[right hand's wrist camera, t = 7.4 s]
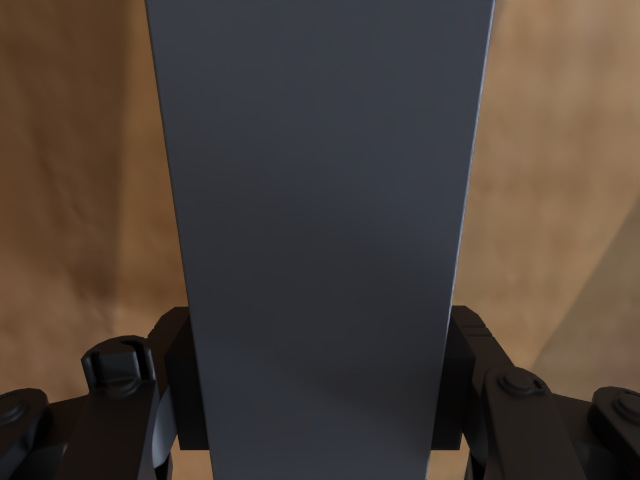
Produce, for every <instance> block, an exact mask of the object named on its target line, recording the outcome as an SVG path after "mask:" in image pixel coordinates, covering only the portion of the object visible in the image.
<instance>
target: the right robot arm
mask: <svg viewBox="0 0 640 480" xmlns="http://www.w3.org/2000/svg"><path fill="white" fill-rule="evenodd" d="M81 363H82V366H83V370H84V373H85V377H86V381H87V384H88V388H89V394H88V395H85V396H81V397H78V398H73V399H69V400H64V401H60V402H55V403H51V404H49V402H48V399H47V396H46V394H45V393H44V392H43V391H41V390H40V389H33V388H26V389H19V390H14V391H11V392H8V393H5V394H2V395H0V480H171V479H172V469H173V463H172V457H171V452H170V450H171V447H172V445H173V442H174V440H175V438H176V435H177V434H178V440H179V445H180V450H209V444H208V437H207V430H206V424H205V417H204V410H203V403H202V396H201V389H200V382H199V375H198V368H197V361H196V354H195V347H194V340H193V333H192V326H191V320H190V313H189V307H174V308H173V309H171V310H170V311H168V312H167V313H165V314H164V315H163V316H161V318H160V319H159V321H158V322H157V324H156V325H155V326H154V329H152V331H151V332H150V333H149V335H148V338H146V339H145V338H144V337H139V336H135V335H130V336H120V337H115V338H111V339H108V340H106V341H104V342H101V343H99V344H97V345H96V346H94V347H93V348H91V349H90V350H88V351H87V352H86V353H85V355H84V356H83V357H82V358H81ZM462 433H463V434H464V436H465V439H466V441H467V444H468V446H469V448H470V452H469V457H468V462H467V467H466V472H465V477H464V480H640V393H637V392H635V391H631V390H628V389H625V388H619V387H612V386H609V387H602V388H599V389H598V390H597V391H596V392H594V395H593V398H592V401H591V402H587V401H583V400H578V399H574V398H569V397H565V396H561V395H557V394H554V393H551V391H550V389H549V388H548V386H547V385H546V383H545V382H544V381H543V380H541V379H540V378H539V377H538V376H536V375H535V374H533V373H531V372H529V371H527V370H525V369H523V368H519V367H515V366H514V364H513V363H512V362H511V360H510V359H509V357H508V356H507V355H506V353H505V352H504V350H503V349H502V348H501V346H500V345H499V343H498V342H497V341H496V339H495V338H494V337H492V334H491V332H490V331H489V329H488V328H486V325H485V324H484V322H483V321H482V320H481V318H480V317H479V315H478V314H476V313H475V312H473V311H472V310H470V309H469V308H467V307H466V306H451V312H450V319H449V326H448V333H447V340H446V347H445V354H444V361H443V368H442V375H441V382H440V389H439V396H438V403H437V410H436V416H435V423H434V430H433V437H432V444H431V450H459V449H460V444H461V438H462Z"/></svg>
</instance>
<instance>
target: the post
mask: <svg viewBox="0 0 640 480" xmlns="http://www.w3.org/2000/svg"><path fill="white" fill-rule="evenodd" d="M144 1H145V7H146V14H147V21H148V28H149V35H150V42H151V49H152V56H153V63H154V70H155V77H156V84H157V91H158V98H159V105H160V112H161V118H162V125H163V132H164V139H165V146H166V153H167V160H168V167H169V174H170V181H171V188H172V195H173V202H174V209H175V216H176V222H177V229H178V236H179V243H180V250H181V257H182V264H183V271H184V278H185V285H186V292H187V299H188V306H189V313H190V320H191V326H192V333H193V340H194V347H195V354H196V361H197V368H198V375H199V382H200V389H201V396H202V403H203V410H204V417H205V424H206V430H207V437H208V444H209V451H210V458H211V465H212V472H213V479H214V480H426V479H427V472H428V465H429V458H430V451H431V444H432V437H433V430H434V423H435V416H436V410H437V403H438V396H439V389H440V382H441V375H442V368H443V361H444V354H445V347H446V340H447V333H448V326H449V319H450V312H451V305H452V298H453V291H454V284H455V277H456V270H457V263H458V256H459V249H460V242H461V235H462V228H463V221H464V214H465V207H466V200H467V193H468V186H469V179H470V172H471V165H472V158H473V151H474V144H475V137H476V130H477V124H478V117H479V110H480V103H481V96H482V89H483V82H484V75H485V68H486V61H487V54H488V47H489V40H490V33H491V26H492V19H493V12H494V5H495V0H144Z"/></svg>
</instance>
